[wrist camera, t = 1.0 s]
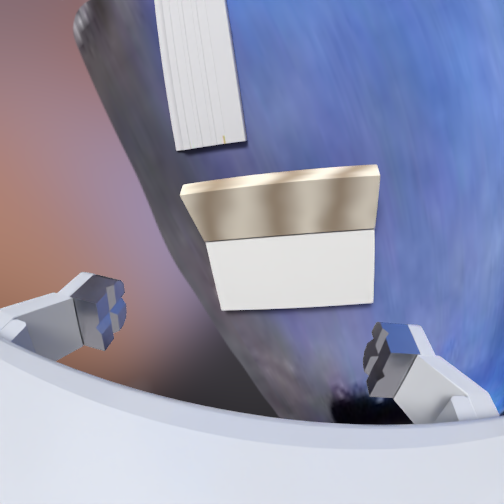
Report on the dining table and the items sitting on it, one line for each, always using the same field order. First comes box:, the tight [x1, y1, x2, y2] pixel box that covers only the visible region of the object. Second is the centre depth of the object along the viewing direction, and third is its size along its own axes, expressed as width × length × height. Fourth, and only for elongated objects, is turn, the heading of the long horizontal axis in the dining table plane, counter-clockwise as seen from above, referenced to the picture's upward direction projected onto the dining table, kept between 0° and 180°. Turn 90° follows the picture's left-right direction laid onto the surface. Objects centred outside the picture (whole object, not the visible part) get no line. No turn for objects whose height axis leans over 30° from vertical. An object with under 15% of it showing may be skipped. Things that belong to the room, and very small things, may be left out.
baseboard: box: [154, 0, 247, 151], centre depth 29 cm, size 30×3×10 cm
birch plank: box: [180, 165, 380, 241], centre depth 34 cm, size 20×8×2 cm, turn 99°
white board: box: [206, 228, 375, 310], centre depth 40 cm, size 20×10×2 cm, turn 99°
